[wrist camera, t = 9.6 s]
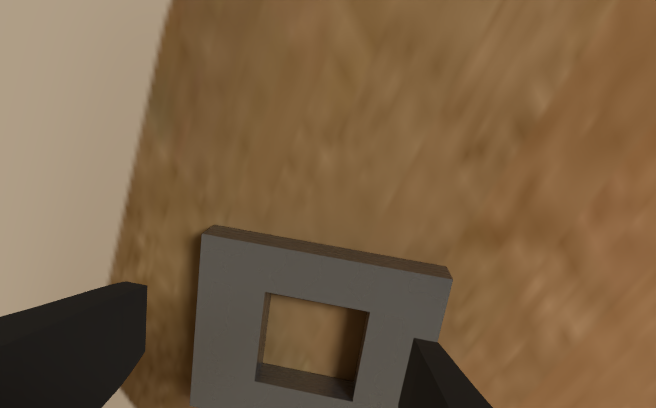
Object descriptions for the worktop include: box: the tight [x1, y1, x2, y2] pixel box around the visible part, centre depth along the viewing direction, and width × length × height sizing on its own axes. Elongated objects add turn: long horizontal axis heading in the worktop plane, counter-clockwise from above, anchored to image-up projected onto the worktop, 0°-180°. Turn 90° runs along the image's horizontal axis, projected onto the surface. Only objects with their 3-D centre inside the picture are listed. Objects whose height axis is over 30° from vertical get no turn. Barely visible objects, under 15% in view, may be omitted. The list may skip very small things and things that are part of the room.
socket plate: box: [190, 225, 453, 408], centre depth 20 cm, size 10×12×2 cm
